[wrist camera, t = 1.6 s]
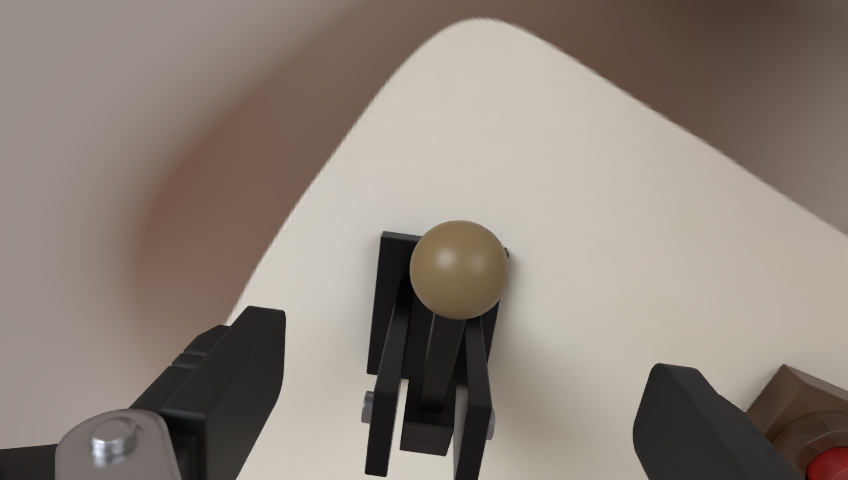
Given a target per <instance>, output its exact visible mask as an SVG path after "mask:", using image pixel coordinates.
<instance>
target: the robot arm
mask: <svg viewBox="0 0 848 480" xmlns="http://www.w3.org/2000/svg"><path fill="white" fill-rule="evenodd" d="M285 330H286V316H285V312H284V311H283V310H277V309H270V308H262V307H255V306H248V307H247V308H246V309H245V310H244V311H243V312H242V313H241V314H240V316H239V317H238V318H237V319H236V320H235V321H234V323H233V324H232V325H231V326H224V325H218V326H216V327H214V328H212V329H210V330H208V331H206V332H204V333H202V334H200V335H198V336H197V337H196V338H195V339H194V340H193V341H192V342H191V343H190V344H189V345H188V346H187V348H186V349H185V350H184V352H183V354H180V355H179V356H178V357H177V358H176V359H175V360H174V361H173V362H172V366H168V368H167V369H166V370H165V371H164V372H163V373H162V374H161V375H160V376H159V377H158V378H157V379H156V380H155V381H154V382H153V383H152V384H151V385H150V386H149V387H148V388H147V389H146V391H145V392H144V393H143V394H142V395H141V396H140V397H139V398H138V399H137V400H136V401H135V402H134V403H133V404H132V405H131V406H130V407H129V408H128V409H119V410H114V411H109V412H106V413H102V414H99V415H97V416H94V417H91V418H89V419H87V420H85V421H83V422H82V423H80V424H78V425H77V426H75V427H74V428H73V429H71V430H70V431H69V432H68V433H67V434H66V435H65V436H64V437H63V438H62V440H61V441H60V442H59V444H52V445H44V446H33V447H21V448H11V449H1V450H0V480H236V478H237V477H238V475H239V473H240V471H241V469H242V467H243V465H244V463H245V461H246V459H247V457H248V456H249V454H250V452H251V450H252V448H253V446H254V444H255V442H256V440H257V438H258V436H259V435H260V433H261V431H262V429H263V427H264V425H265V423H266V421H267V419H268V417H269V415H270V413H271V412H272V410H273V408H274V406H275V404H276V402H277V400H278V397H279V394H280V390H281V386H282V381H283V374H284V353H285ZM633 444H634V449H635V452H636V454H637V456H638V458H639V460H640V462H641V465H642V467H643V469H644V471H645V473H646V475H647V477H648V479H649V480H802V478H801V477H800V476H799V475H798V474H797V473H796V472H795V470H794V469H793V468H792V467H791V466H790V465H789V463H788V462H787V461H786V460H785V459H784V458H783V457H782V455H781V454H780V453H779V452H777V451H775V450H774V448H775V447H774V446H773V445H772V444H771V443H770V442H769V440H768V439H767V438H766V437H765V436H764V435H761V431H760V430H759V429H758V428H757V427H756V425H755V424H754V423H753V422H752V421H751V420H750V418H749V417H748V416H747V415H746V414H745V413H744V412H743V411H742V410H740V409H739V408H737V407H736V406H735V405H733V404H732V403H731V402H729V401H728V400H727V399H725V398H724V397H722V396H721V395H718V393H717V392H716V391H715V390H714V389H713V387H712V386H711V385H710V384H709V383H708V381H707V380H706V379H705V378H704V377H703V375H702V374H701V373H700V372H699V371H698V370H697V369H695V368H691V367H684V366H676V365H669V364H662V363H658V364H656V365H654V367H653V368H652V370H651V372H650V374H649V378H648V381H647V384H646V387H645V390H644V393H643V396H642V399H641V402H640V406H639V409H638V412H637V415H636V418H635V421H634V426H633Z"/></svg>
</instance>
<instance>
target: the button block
mask: <svg viewBox="0 0 848 480" xmlns="http://www.w3.org/2000/svg"><path fill="white" fill-rule="evenodd" d="M745 414H746V415H747V416H748V417H749V418H750V420H751V421H752V422H753V423H754V424H755V425H756V427H757V428H758V429H759V430H760V431H761V435H764V436H765V437H766V438H767V439H768V440H769V442H770V443H771V444H772V445H773V446H774V447H775V448H774V450H775V451H777V452H779V453H780V454H781V455H782V457H783V458H784V459H785V460H786V461H787V462H788V463H789V465H790V466H791V467H792V468H793V469H794V470H795V472H796V473H797V474H798V475H799V476H800V477H801V478H802V480H809V479H808V476H807V467H808V465H809V464H810V463H811V462H812V461H813V459H814V458H815V457H816V456H817V455H818V454H820V453H822V452H824V451H826V450H828V449H830V448H833V447H842V446H846V447H848V391H846V390H844V389H841V388H839V387H837V386H834V385H832V384H830V383H827V382H825V381H823V380H820V379H818V378H815V377H813V376H811V375H808V374H806V373H804V372H801V371H799V370H797V369H794V368H792V367H790V366H787V365H785V364H783V365H782V367H781V368H780V369H779V371H778V372H777V373H776V374H775V376H774V377H773V378H772V380H771V381H770V382H769V383H768V385H767V386H766V387H765V389H764V390H763V391H762V392H761V394H760V395H759V396H758V397H757V399H756V400H755V401H754V403H753V404H752V405H751V406H750V408H749V409H748V410H747V412H746V413H745Z"/></svg>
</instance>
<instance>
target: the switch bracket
mask: <svg viewBox="0 0 848 480" xmlns="http://www.w3.org/2000/svg"><path fill="white" fill-rule="evenodd" d="M422 237H423V236H416V235H408V234H401V233H394V232H386V231H383V233H382V236H381V240H380V250H379V259H378V269H377V278H376V288H375V297H374V307H373V316H372V326H371V335H370V345H369V354H368V364H367V374H371V375H378V376H377V380H376V384H375V389H374V392H371V391H367V392H366V394H365V398H364V403H363V409H362V417H361V421H362V423H369V424H370V429H369V438H368V447H367V456H366V465H365V474H366V475H374V476H381V477H386V476H387V472H388V465H389V459H390V452H391V446H392V439H393V433H394V426H395V420H396V413H397V407H398V400H399V394H400V387H401V381H402V379H408V380H409V376H410V374H413V375H421V376H423V370H424V364H425V359H426V353H427V347H428V342H429V336H430V330H431V325H432V319H433V313H434V312H432V311H431V310H430V309H428V308H427V307H426V306H425V305H424V304H423V303H422V302H421V300H420V299H419V298H418V296H417V295H416V293H415V291H414V289H413V286H412V282H411V278H410V262H411V257H412V254H413V251H414V249H415V247H416V245H417V243H418V242H419V241H420V239H421V238H422ZM504 249H505V252H506V255H507V258H508V256H509V254H508V251H507V248H504ZM499 302H500V299H499V301H498V302H497V303H496V304H495V305H494V306H493V307H492V308H491V309H490V310H488V311H487V312H485V313H483V314H482V315H479V316H477V317H474V318H470V319H466V322H465V326H464V330H463V334H462V338H461V342H460V345H459V349H458V353H457V357H456V361H455V365H454V369H453V373H452V377H451V380H456V381H457V388H456V406H455V424H454V432H453V461H454V480H478V476H479V472H480V467H481V462H482V457H483V452H484V447H485V443H486V440H491V439H492V437H493V433H494V426H495V412H494V409H493V408H492V401H491V393H490V385H489V377H488V370H487V364H488V358H489V353H490V348H491V343H492V338H493V333H494V328H495V323H496V318H497V312H498V307H499Z"/></svg>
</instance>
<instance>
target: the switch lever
mask: <svg viewBox="0 0 848 480" xmlns="http://www.w3.org/2000/svg"><path fill="white" fill-rule="evenodd" d="M508 277H509V264H508V258H507V255H506V252H505V249H504V248H503V246H502V244H501V242H500V241H499V240H498V239H497V237H496V236H495V235H494V234H493V233H492V232H490V231H489V230H488V229H486V228H485V227H483V226H481V225H479V224H476V223H473V222H469V221H449V222H445V223H442V224H440V225H438V226H436V227H434V228H432V229H431V230H429V231H428V232H427V233H426V234H425V235H424V236H423V237H422V238H421V239H420V241H419V242H418V243H417V245H416V247H415V249H414V251H413V254H412V257H411V262H410V278H411V282H412V286H413V289H414V291H415V293H416V295H417V296H418V298H419V299H420V300H421V302H422V303H423V304H424V305H425V306H426V307H427V308H428V309H430V310H431V311H432V312H434V313H433V319H432V325H431V330H430V336H429V342H428V347H427V353H426V359H425V364H424V370H423V376H421V375H413V374H410V376H409V383H408V390H407V397H406V404H405V412H404V419H403V427H402V434H401V442H400V450H403V451H410V452H417V453H425V454H432V455H439V456H446V455H447V451H448V448H449V445H450V441H451V438H452V435H453V432H454V424H455V406H456V388H457V381H456V380H451V377H452V373H453V369H454V365H455V361H456V357H457V353H458V349H459V345H460V342H461V338H462V334H463V330H464V326H465V322H466V319H470V318H474V317H477V316H479V315H482V314H483V313H485V312H487V311H488V310H490V309H491V308H492V307H493V306H494V305H495V304H496V303H497V302H498V301H499V299H500V298H501V296H502V295H503V293H504V291H505V288H506V286H507V282H508Z"/></svg>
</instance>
